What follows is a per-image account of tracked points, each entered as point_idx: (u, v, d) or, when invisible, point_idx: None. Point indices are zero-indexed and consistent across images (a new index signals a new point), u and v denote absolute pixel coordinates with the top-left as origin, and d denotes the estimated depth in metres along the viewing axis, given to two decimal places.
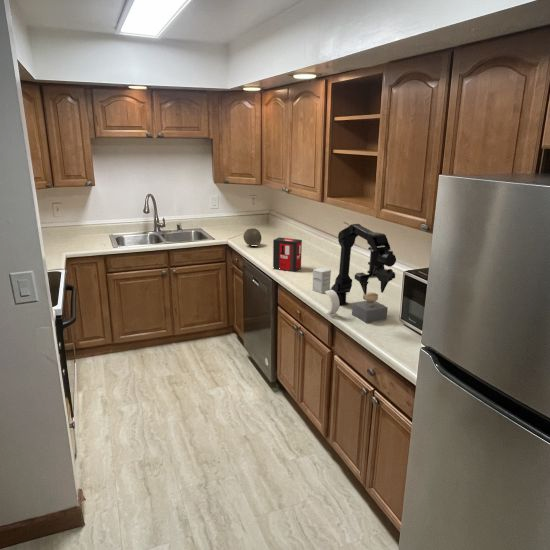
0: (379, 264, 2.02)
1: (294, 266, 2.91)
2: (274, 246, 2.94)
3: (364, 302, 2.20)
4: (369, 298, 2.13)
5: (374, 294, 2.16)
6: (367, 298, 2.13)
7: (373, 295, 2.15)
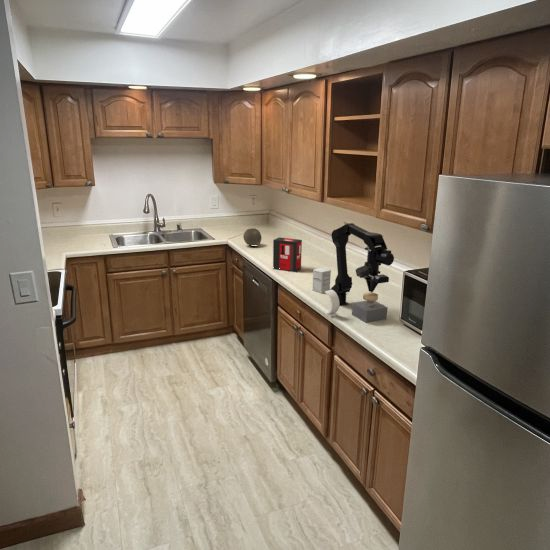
0: (368, 262, 2.10)
1: (294, 266, 2.91)
2: (274, 246, 2.94)
3: (364, 302, 2.20)
4: (369, 298, 2.13)
5: (374, 294, 2.16)
6: (367, 298, 2.13)
7: (373, 295, 2.15)
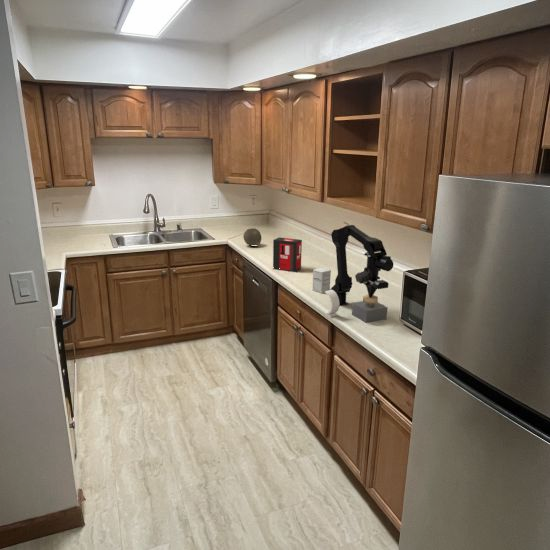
0: (367, 268, 2.11)
1: (294, 266, 2.91)
2: (274, 246, 2.94)
3: (364, 302, 2.20)
4: (369, 300, 2.13)
5: (374, 296, 2.16)
6: (367, 300, 2.14)
7: (373, 297, 2.15)
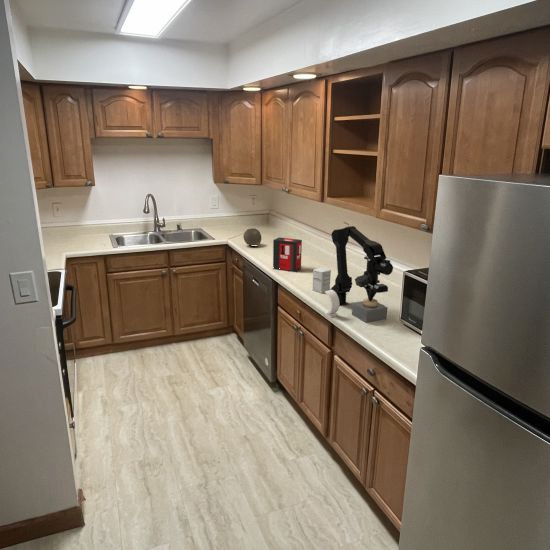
0: (367, 272, 2.11)
1: (294, 266, 2.91)
2: (274, 246, 2.94)
3: None
4: (369, 304, 2.14)
5: (374, 300, 2.17)
6: (367, 304, 2.14)
7: (373, 301, 2.16)
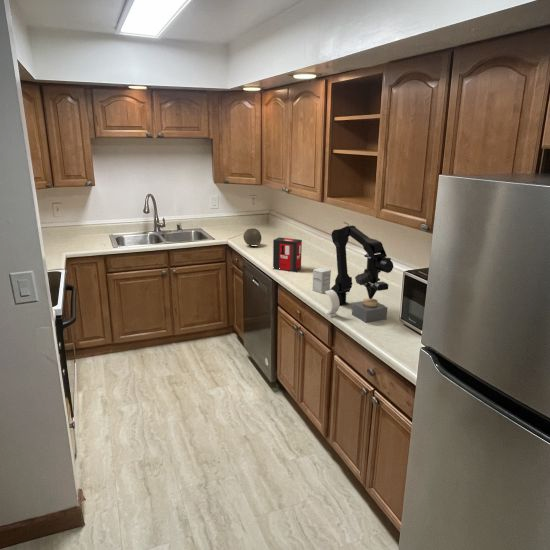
0: (367, 270, 2.11)
1: (294, 266, 2.91)
2: (274, 246, 2.94)
3: None
4: (369, 304, 2.14)
5: (374, 300, 2.17)
6: (367, 304, 2.14)
7: (373, 301, 2.16)
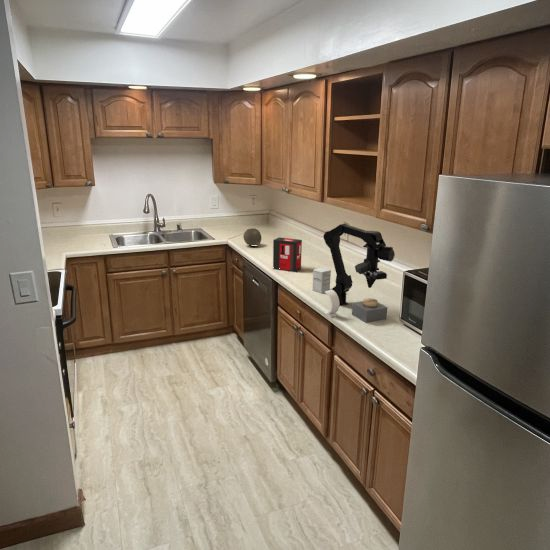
0: (367, 259, 2.17)
1: (294, 266, 2.91)
2: (274, 246, 2.94)
3: None
4: (369, 304, 2.14)
5: (374, 300, 2.17)
6: (367, 304, 2.14)
7: (373, 301, 2.16)
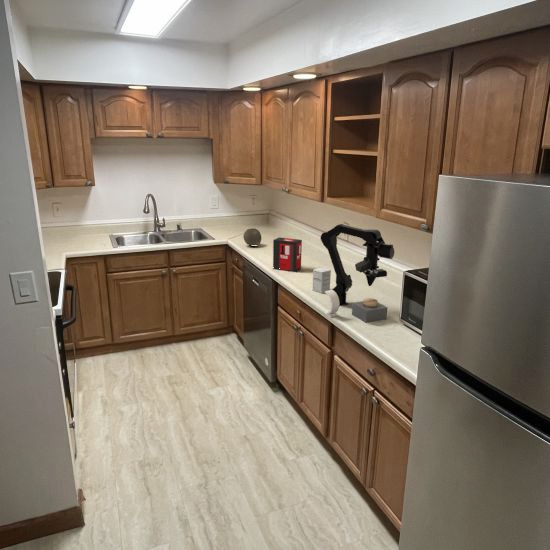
0: (367, 257, 2.19)
1: (294, 266, 2.91)
2: (274, 246, 2.94)
3: None
4: (369, 304, 2.14)
5: (374, 300, 2.17)
6: (367, 304, 2.14)
7: (373, 301, 2.16)
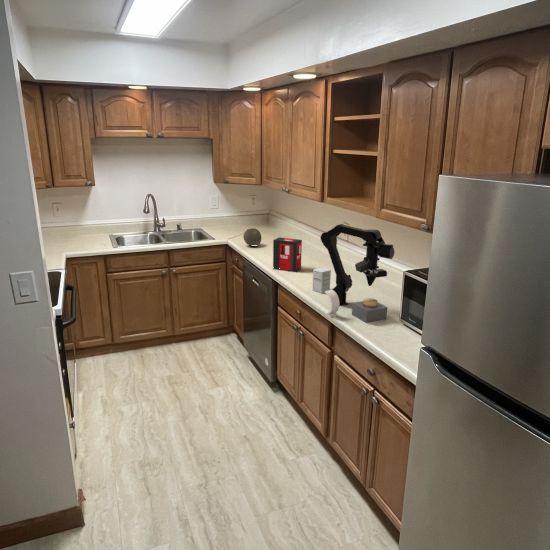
0: (367, 257, 2.19)
1: (294, 266, 2.91)
2: (274, 246, 2.94)
3: None
4: (369, 304, 2.14)
5: (374, 300, 2.17)
6: (367, 304, 2.14)
7: (373, 301, 2.16)
